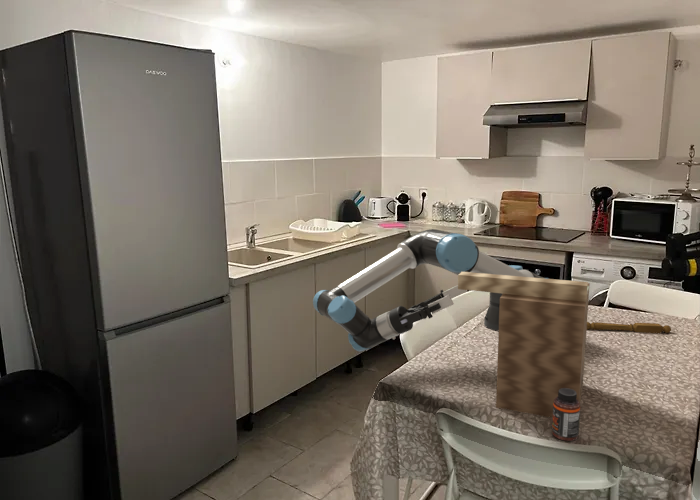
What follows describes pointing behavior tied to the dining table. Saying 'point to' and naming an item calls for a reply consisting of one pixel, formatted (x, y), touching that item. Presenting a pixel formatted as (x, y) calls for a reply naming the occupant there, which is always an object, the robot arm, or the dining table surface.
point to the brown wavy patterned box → (539, 351)
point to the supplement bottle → (566, 415)
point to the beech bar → (523, 286)
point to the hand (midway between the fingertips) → (458, 293)
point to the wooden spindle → (630, 327)
